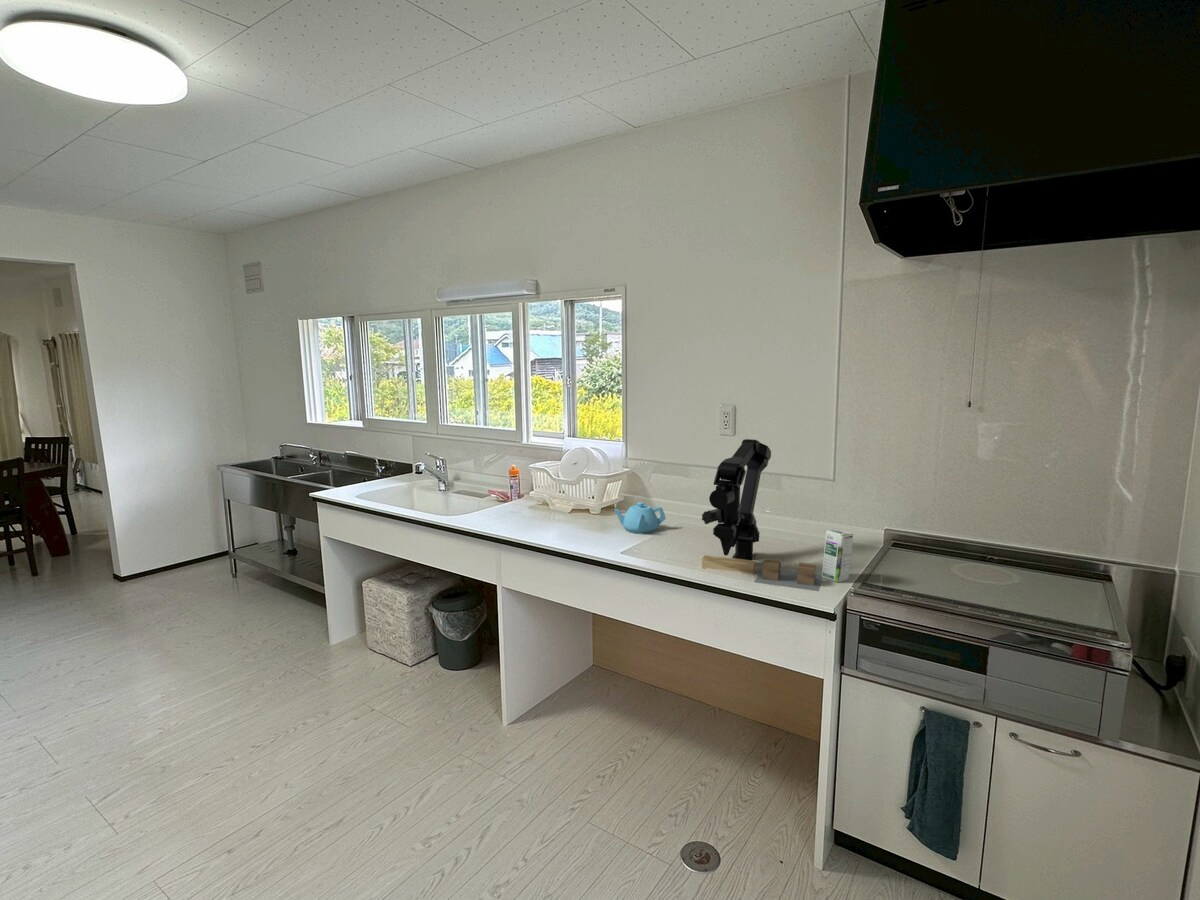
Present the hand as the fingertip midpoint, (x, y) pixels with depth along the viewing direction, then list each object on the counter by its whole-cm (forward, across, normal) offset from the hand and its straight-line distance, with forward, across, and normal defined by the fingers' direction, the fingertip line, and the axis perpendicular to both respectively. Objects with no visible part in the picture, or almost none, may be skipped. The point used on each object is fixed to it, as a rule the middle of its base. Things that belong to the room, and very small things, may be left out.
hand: (729, 550), depth 191 cm
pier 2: (+6, +3, +24) cm, 24 cm away
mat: (+6, +2, +18) cm, 20 cm away
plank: (+6, 0, 0) cm, 6 cm away
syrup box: (+6, -4, +31) cm, 32 cm away
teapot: (+6, -33, -42) cm, 54 cm away
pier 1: (+6, +3, +14) cm, 15 cm away
